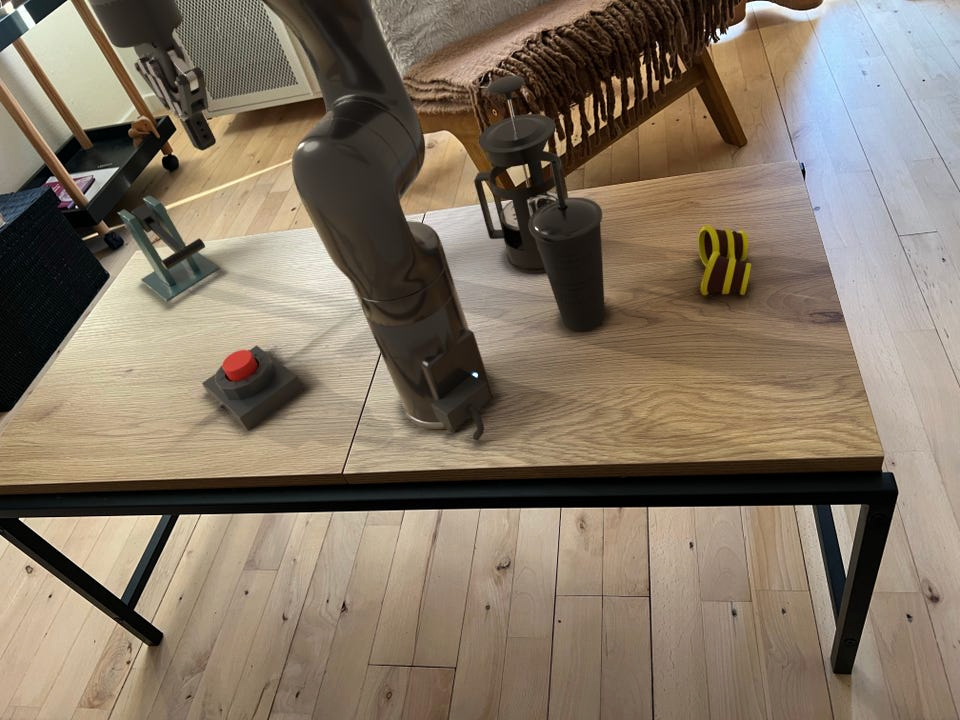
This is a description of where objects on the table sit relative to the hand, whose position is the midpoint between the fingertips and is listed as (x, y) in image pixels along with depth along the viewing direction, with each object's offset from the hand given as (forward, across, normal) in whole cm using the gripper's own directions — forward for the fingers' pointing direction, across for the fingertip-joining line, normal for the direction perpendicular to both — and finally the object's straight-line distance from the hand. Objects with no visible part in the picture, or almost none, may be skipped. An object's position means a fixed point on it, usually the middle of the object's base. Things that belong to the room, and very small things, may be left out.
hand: (206, 146), depth 87 cm
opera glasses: (+25, +43, +34) cm, 60 cm away
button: (+21, +9, -11) cm, 26 cm away
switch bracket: (+25, -25, -5) cm, 36 cm away
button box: (+25, +9, -11) cm, 29 cm away
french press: (+25, +20, +27) cm, 42 cm away
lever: (+17, -21, -5) cm, 27 cm away
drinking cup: (+25, +34, +20) cm, 47 cm away
